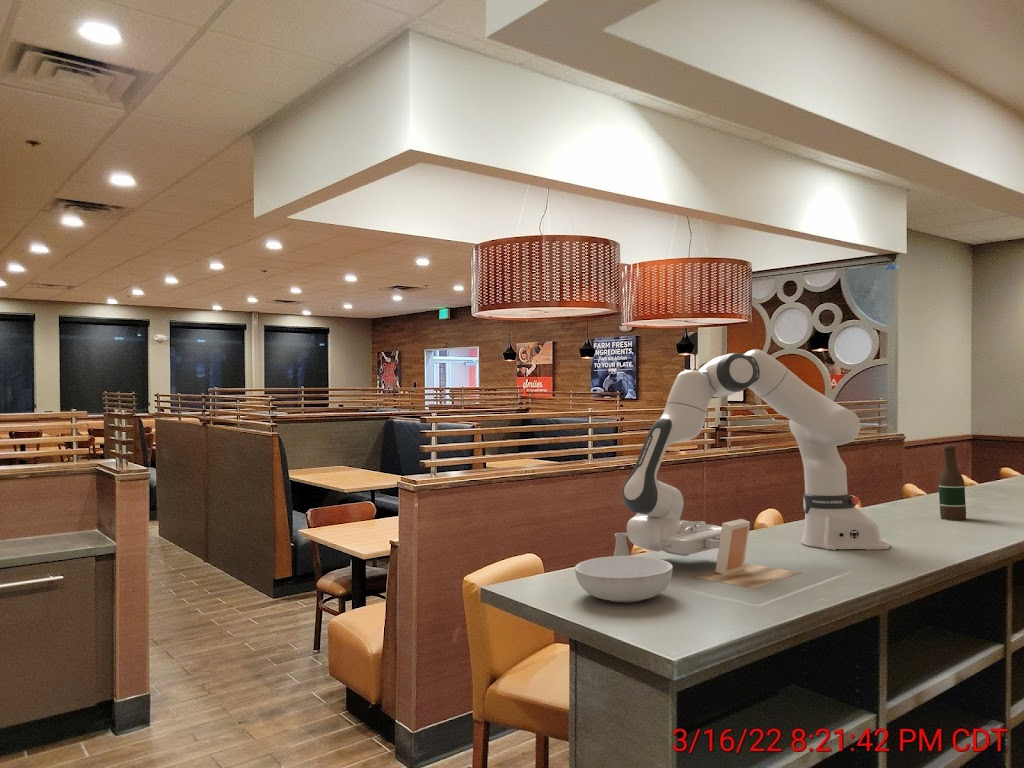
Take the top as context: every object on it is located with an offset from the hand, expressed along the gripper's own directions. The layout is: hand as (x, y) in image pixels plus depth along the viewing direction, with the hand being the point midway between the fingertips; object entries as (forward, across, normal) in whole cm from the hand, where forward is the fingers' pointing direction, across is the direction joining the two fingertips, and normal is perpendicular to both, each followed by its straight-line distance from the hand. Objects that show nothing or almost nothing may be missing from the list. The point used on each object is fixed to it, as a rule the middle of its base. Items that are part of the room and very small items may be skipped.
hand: (728, 544), depth 178 cm
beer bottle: (+10, +113, +7) cm, 113 cm away
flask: (-18, -18, +7) cm, 26 cm away
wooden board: (+5, 0, +7) cm, 9 cm away
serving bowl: (-4, -33, +7) cm, 34 cm away
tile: (0, 0, +6) cm, 6 cm away
